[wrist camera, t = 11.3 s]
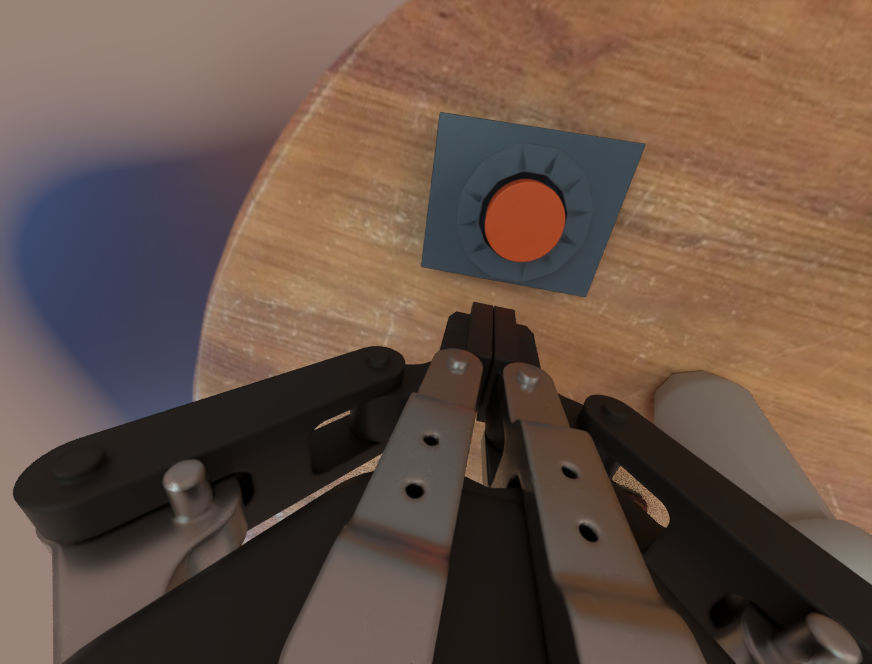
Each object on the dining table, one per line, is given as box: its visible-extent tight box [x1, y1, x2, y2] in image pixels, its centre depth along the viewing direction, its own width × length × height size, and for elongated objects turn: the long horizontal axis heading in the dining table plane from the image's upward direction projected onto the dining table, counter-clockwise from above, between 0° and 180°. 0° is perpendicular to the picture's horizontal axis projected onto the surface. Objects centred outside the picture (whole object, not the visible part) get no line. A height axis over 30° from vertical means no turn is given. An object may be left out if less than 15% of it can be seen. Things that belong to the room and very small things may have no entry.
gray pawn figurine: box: [654, 371, 872, 585], centre depth 19 cm, size 6×6×13 cm
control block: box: [421, 112, 645, 297], centre depth 18 cm, size 10×8×4 cm
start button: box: [485, 179, 565, 262], centre depth 16 cm, size 4×4×2 cm
